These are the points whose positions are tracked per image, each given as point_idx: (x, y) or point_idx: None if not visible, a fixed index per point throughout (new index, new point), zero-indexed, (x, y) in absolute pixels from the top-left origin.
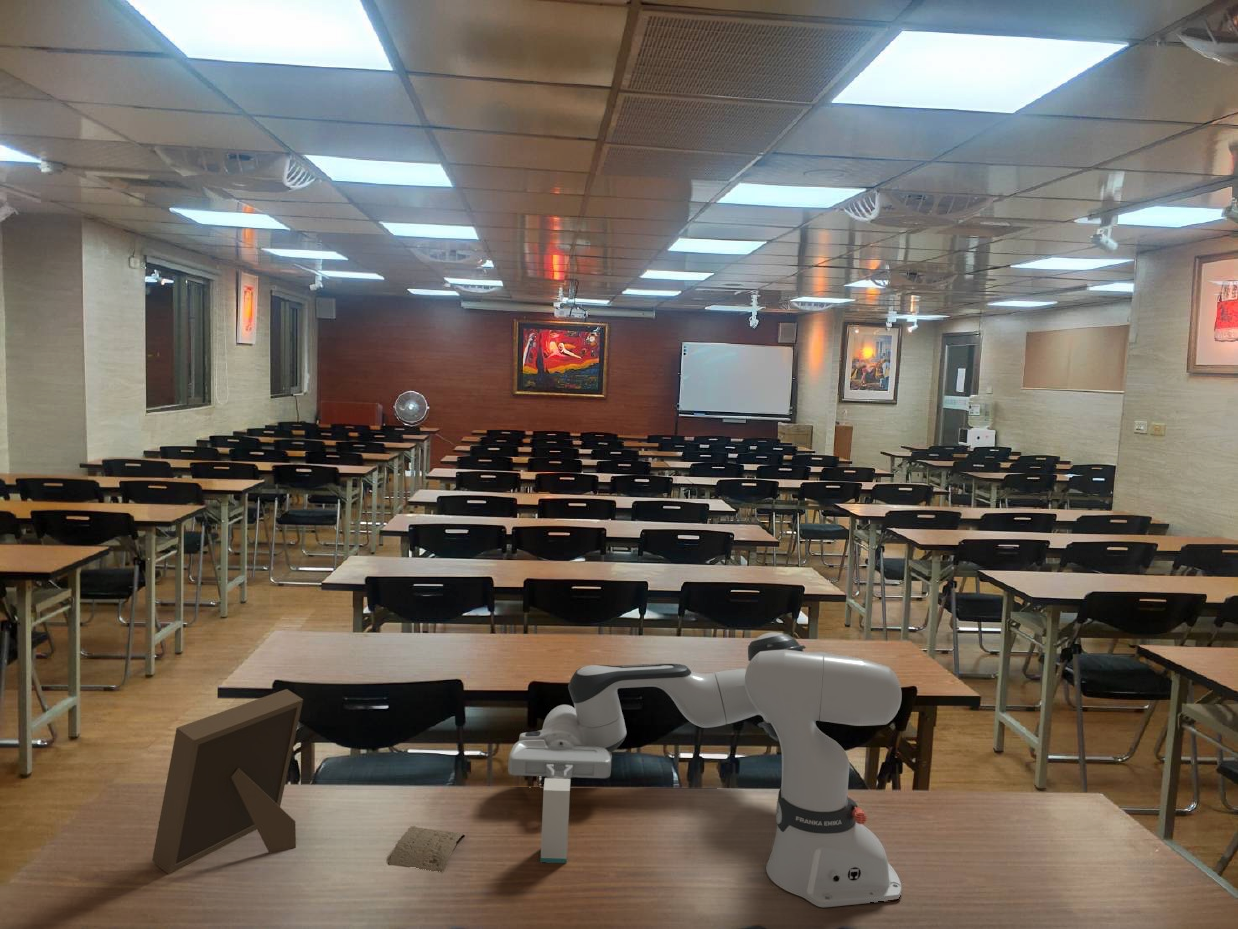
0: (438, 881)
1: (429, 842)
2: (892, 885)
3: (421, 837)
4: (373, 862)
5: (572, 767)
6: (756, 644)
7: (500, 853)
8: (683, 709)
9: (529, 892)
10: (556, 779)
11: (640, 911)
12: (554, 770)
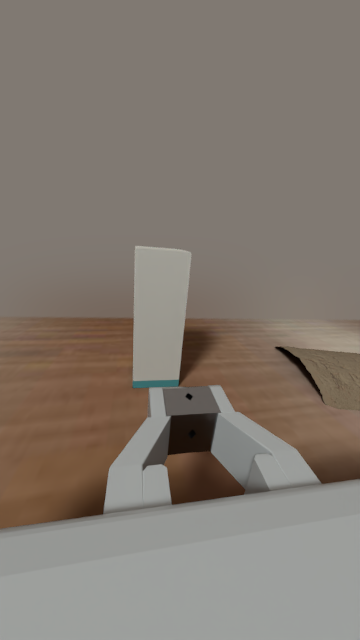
0: (267, 340)
1: (328, 354)
2: None
3: (349, 360)
4: None
5: (110, 467)
6: None
7: (236, 373)
8: None
9: None
10: (165, 250)
11: (58, 321)
12: (222, 414)
